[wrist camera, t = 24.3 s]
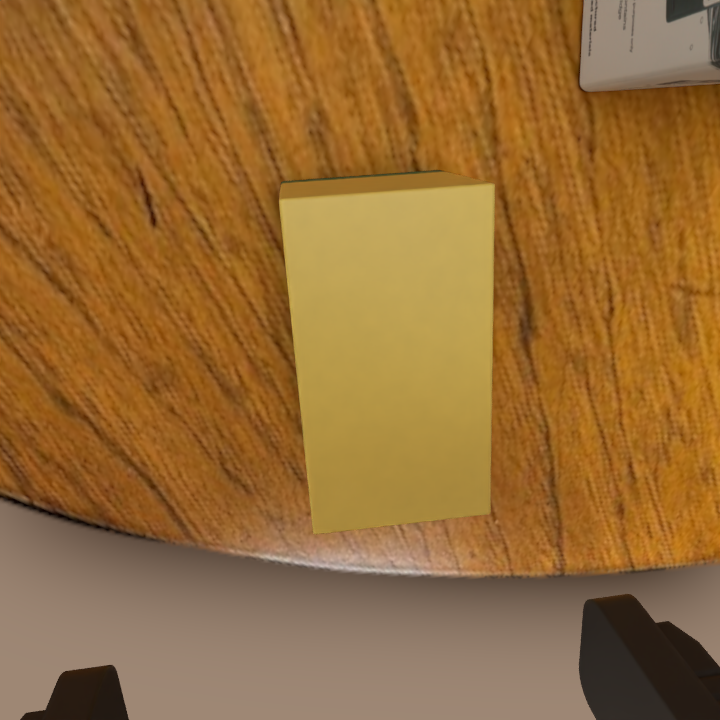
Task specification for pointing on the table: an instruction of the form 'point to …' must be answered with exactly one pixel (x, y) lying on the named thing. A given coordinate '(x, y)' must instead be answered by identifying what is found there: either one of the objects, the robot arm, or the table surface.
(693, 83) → the ink box
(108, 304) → the table surface
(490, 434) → the sponge
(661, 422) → the table surface
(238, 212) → the table surface
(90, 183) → the table surface
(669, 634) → the robot arm
